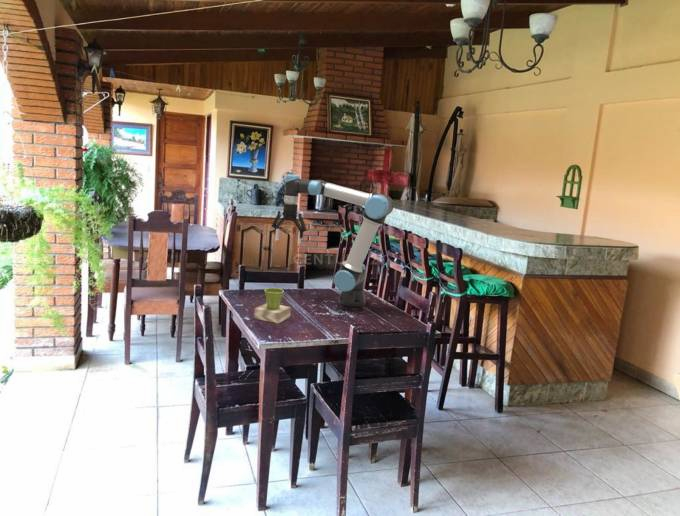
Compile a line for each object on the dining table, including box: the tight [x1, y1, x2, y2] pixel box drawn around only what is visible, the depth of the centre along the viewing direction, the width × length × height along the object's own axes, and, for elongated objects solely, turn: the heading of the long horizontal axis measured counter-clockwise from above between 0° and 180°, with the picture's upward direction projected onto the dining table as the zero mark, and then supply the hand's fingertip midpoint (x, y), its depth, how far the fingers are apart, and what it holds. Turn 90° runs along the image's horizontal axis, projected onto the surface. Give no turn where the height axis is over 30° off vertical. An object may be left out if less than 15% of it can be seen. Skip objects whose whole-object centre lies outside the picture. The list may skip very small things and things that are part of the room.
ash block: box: [253, 302, 292, 324], centre depth 257 cm, size 13×13×5 cm
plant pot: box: [264, 287, 285, 309], centre depth 256 cm, size 9×9×9 cm
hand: (288, 242), depth 289 cm, fingers open, 13 cm apart
